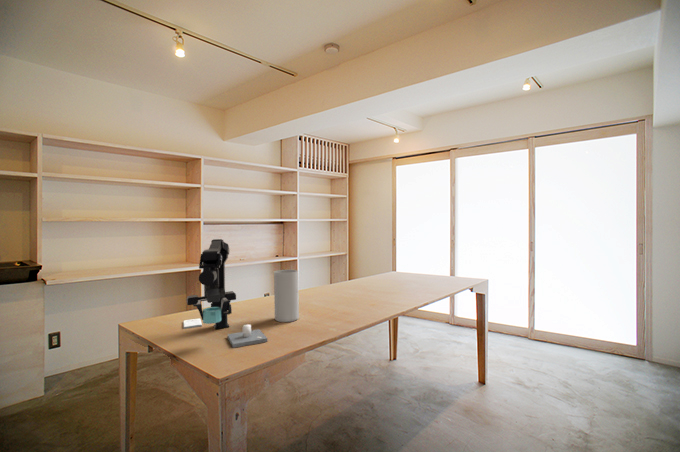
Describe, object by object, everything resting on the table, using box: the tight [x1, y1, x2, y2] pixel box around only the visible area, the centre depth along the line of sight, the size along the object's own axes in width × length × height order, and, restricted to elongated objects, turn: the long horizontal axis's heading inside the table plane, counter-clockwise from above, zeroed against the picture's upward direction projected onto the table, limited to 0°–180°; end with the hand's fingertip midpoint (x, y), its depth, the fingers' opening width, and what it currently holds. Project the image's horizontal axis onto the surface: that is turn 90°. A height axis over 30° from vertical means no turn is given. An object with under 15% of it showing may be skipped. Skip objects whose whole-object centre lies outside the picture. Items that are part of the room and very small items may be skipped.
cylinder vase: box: [273, 269, 300, 323], centre depth 174 cm, size 12×12×25 cm
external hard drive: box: [183, 317, 203, 330], centre depth 168 cm, size 2×8×12 cm
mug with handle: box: [202, 306, 221, 325], centre depth 138 cm, size 8×7×5 cm
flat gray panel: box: [227, 324, 268, 349], centre depth 144 cm, size 14×14×6 cm
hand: (212, 318), depth 138 cm, fingers closed on mug with handle, 7 cm apart
